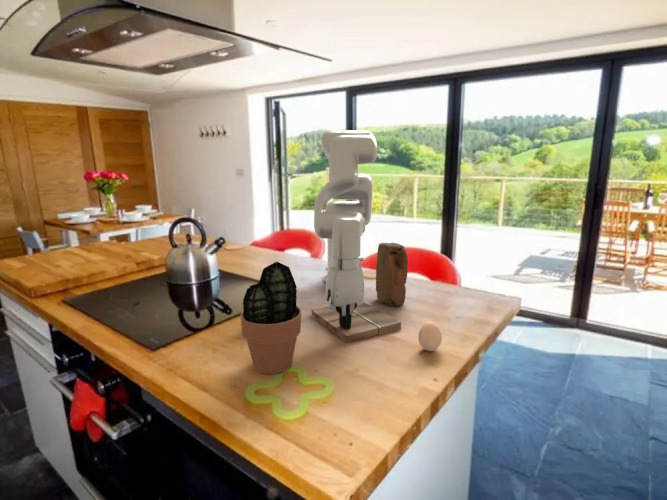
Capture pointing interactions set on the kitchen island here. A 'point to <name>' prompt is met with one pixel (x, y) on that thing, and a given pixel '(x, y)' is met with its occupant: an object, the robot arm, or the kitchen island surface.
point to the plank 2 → (354, 329)
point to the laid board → (377, 318)
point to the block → (391, 273)
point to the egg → (430, 336)
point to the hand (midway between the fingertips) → (345, 326)
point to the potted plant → (271, 319)
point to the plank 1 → (325, 315)
